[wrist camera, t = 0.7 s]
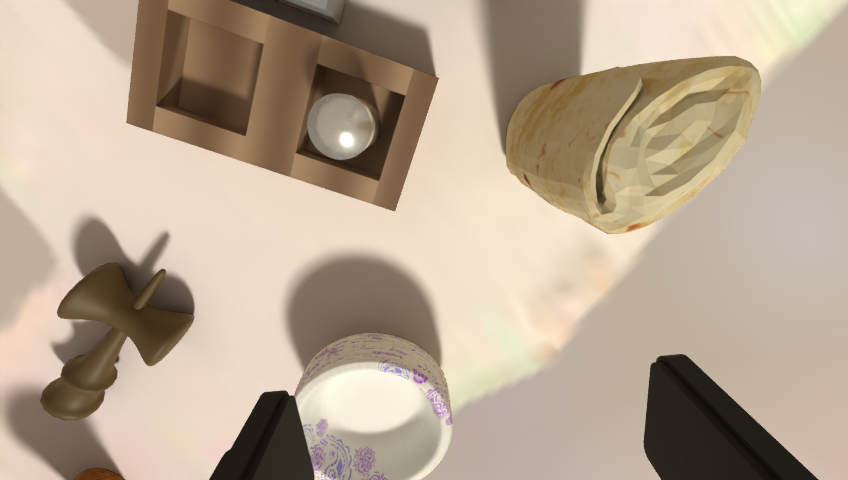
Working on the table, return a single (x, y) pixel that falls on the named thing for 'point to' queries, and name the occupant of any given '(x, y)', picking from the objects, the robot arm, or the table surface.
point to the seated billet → (343, 125)
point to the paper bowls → (374, 409)
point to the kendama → (110, 338)
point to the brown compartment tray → (271, 93)
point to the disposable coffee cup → (98, 475)
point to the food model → (632, 137)
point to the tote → (319, 8)
